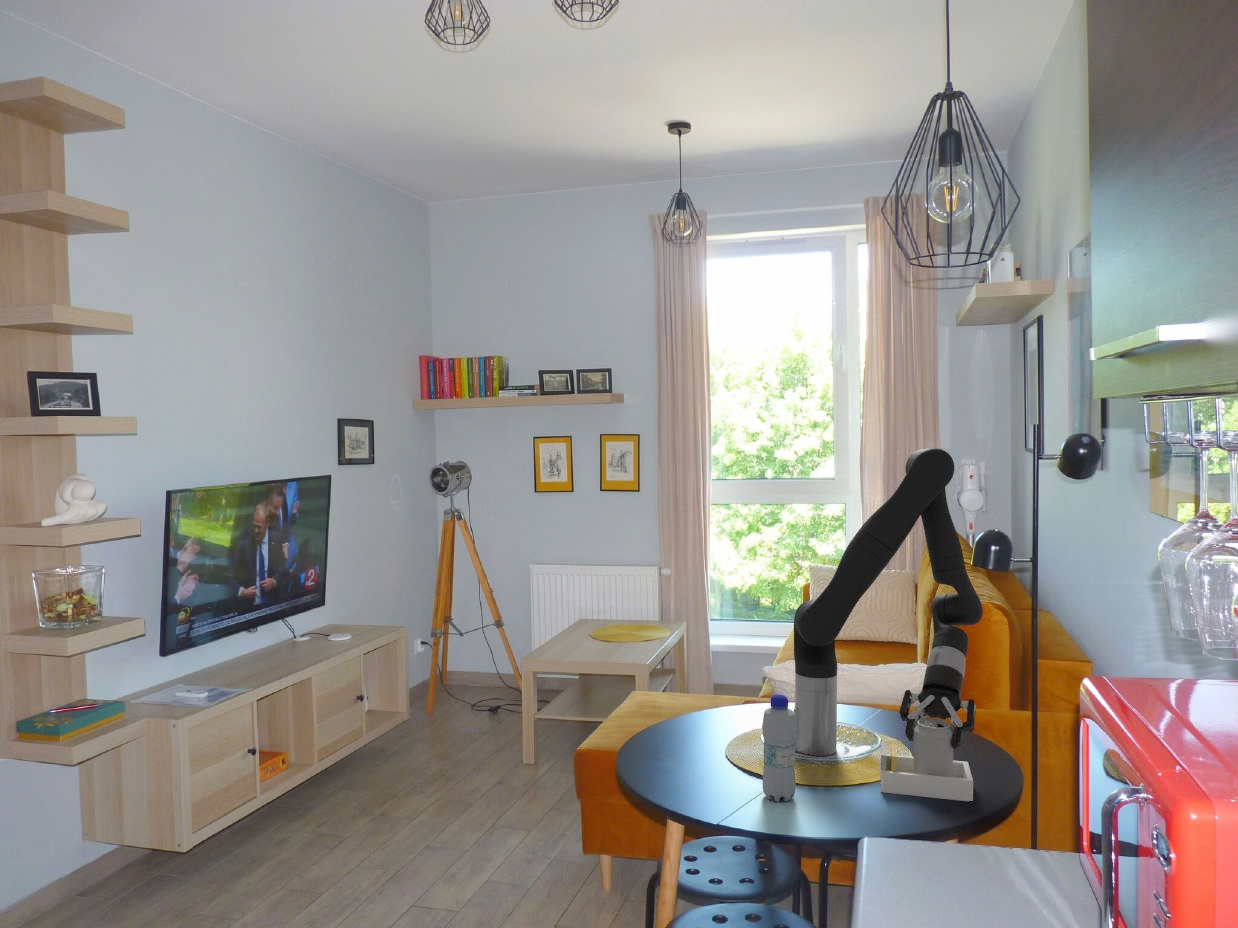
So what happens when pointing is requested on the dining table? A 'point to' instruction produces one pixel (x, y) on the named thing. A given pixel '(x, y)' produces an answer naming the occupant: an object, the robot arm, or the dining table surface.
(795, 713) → the robot arm
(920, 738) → the can
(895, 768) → the pusher paddle
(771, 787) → the bottle
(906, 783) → the white open box
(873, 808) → the dining table surface
